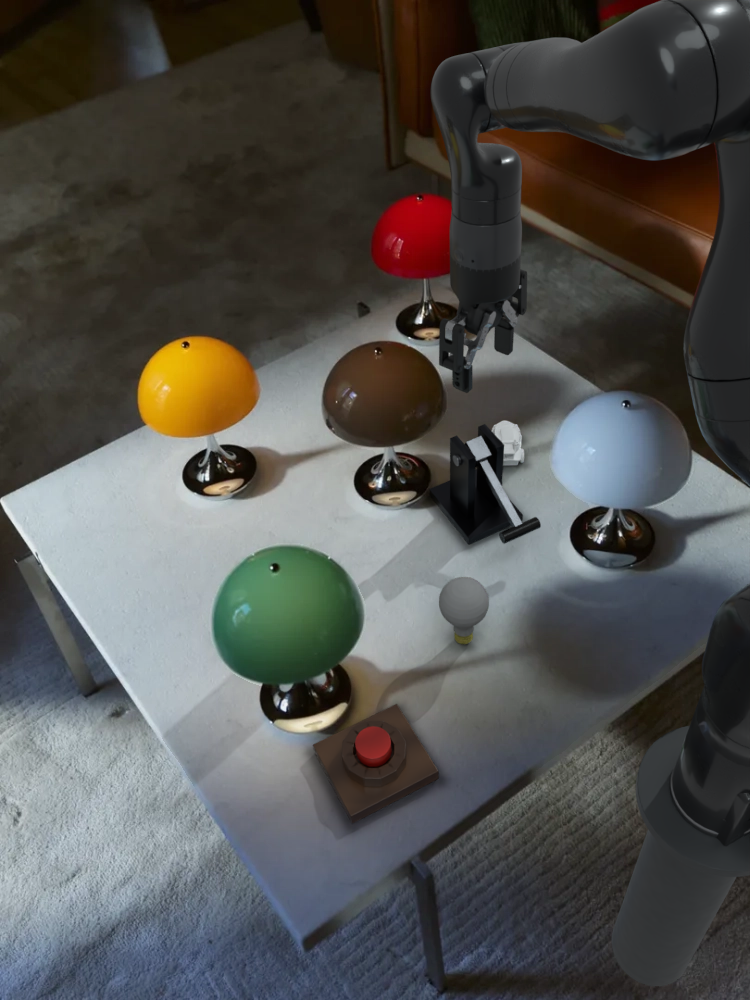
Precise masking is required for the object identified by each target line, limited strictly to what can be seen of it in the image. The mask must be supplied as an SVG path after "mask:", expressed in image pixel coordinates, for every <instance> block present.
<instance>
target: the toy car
mask: <svg viewBox="0 0 750 1000" xmlns="http://www.w3.org/2000/svg"><path fill="white" fill-rule="evenodd" d="M491 431H492V432H493V433H494V434H495V435H496V436H497V438H498V439H499V440H500V441H501V442H502V443H503V444H504V459H503V466H518V465H519V463H521V464H522V463H525V449H524V448H521V447H522V441H523V435H522V433H521V429H520V427H519V425H518V424H517V423H514V422H512V421H509V420H501V421H499V422H498V423H496V424H494V425H493V426H492V428H491Z"/></svg>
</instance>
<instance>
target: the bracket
mask: <svg viewBox="0 0 750 1000" xmlns="http://www.w3.org/2000/svg"><path fill="white" fill-rule="evenodd" d="M479 436H482V438H483V440H484V441H485V443H486V445H487V447H488V448H489V450H490V452H491V454H492V455H491V457H490V459H489V460H488V462H489V464H490V466H491V467H492V469H493V471H494V473H495V475H496V476H497V478H498V480H499V482H500V484H501V485H502V486H503V477H504V476H503V475H504V474H503V473H504V465H503V459H504V444H503V443H502V442H501V441H500V440H499V439H498V438H497V436H496V435H495V434H494V433H493V432H492V429H491V428H490V427H488V426H487V424H486V423H483V424H481V425H479V426H477V437H479ZM475 462H476V457H475V456H474V454H473V453H472V452H471V451H470V450H469V449H468V448H467V446H466V445H465V443H464V442H463V441H462V439H461V438H460V437H459V436H458V435H454V436H452V437H450V438H449V480H447V481H445V482H443V483H441V484H438V485H435V486H433V487H430V488H429V489H428V493H429V497H430V498H431V499H432V500H433V502H434V503H435V504H436V505H437V507H438V508H439V509H440V510H441V512H442V513H443V515H445V516H446V518H447V520H448V521H449V522H450V523H451V524H452V526H453V527H454V528H455V529H456V531H457V532H458V534H459V535H460V536H461V537H462V538H463V540H464V541H465V542H466V544H468V545H472V544H474V543H476V542H478V541H481V540H482V539H485V538H487V537H489V536H492V535H494V534H496V533H499V532H502V531H504V530H506V529H508V528H511V525H510V523H509V521H508V519H507V518H506V516H505V514H504V512H503V510H502V509H501V507H500V505H499V503H498V501H497V500H496V498H495V496H494V494H493V492H492V490H491V489H490V487H489V485H488V483H487V481H486V480H485V478H484V476H483V474H482V472H481V471H480V469H479V467H478V466H477V467H475ZM509 500H510V502H511V503H512V505H513V507H514V509H515V511H516V512H517V514H518V516H519V518H520V519H521V521H522V522H523V520H524V519H523V518H524V515H523V513H522V512H521V511H520V509H519V508H518V507H517V506H516V505H515V504H514V503H513V501H512V500H511V499H510V498H509Z"/></svg>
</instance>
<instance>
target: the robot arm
mask: <svg viewBox="0 0 750 1000" xmlns="http://www.w3.org/2000/svg"><path fill="white" fill-rule="evenodd" d="M430 99H431V100H430V102H431V105H432V110H433V113H434V116H435V119H436V122H437V124H438V127H439V130H440V134H441V138H442V141H443V144H444V148H445V152H446V157H447V161H448V166H449V172H450V190H451V191H450V195H451V197H450V199H451V214H450V222H449V284H450V285H449V286H450V288H451V290H452V292H453V293H454V295H455V296H456V298H457V300H458V306H457V311H456V315H455V317H453V318H452V319H451V320H450V319H447V318H445V317H444V318H441V320H440V322H439V335H438V337H439V341H438V342H439V343H438V365H439V366H440V367H442V368H445V369H447V370H449V371H451V376H452V377H451V378H452V379H451V380H452V381H451V383H452V384H451V385H452V386H453V388H455V389H456V390H458V391H460V392H463V393H465V394H468V393H469V392H471V391H472V389H473V362H474V359H475V356H476V354H477V352H478V351H480V350H482V349H483V347H484V344H485V341H486V338H487V336H488V334H489V332H490V331H492V329H493V328H494V333H493V334H494V336H493V337H494V340H493V341H494V342H493V347H494V348H493V349H494V350H495V351H496V352H497V353H500V354H502V355H505V356H509V355H511V353H513V351H514V337H515V336H514V335H515V334H514V333H515V328H516V327H517V325H518V323H519V316H524V315H525V314H526V313H527V308H528V271H527V270H524V269H521V262H522V261H521V260H522V241H523V240H522V239H523V224H522V223H523V222H522V212H521V211H522V210H521V207H522V206H521V205H522V184H523V183H522V180H523V165H522V159H521V156H520V155H519V153H518V152H517V151H516V150H515V149H514V148H512V147H510V146H508V145H505V144H502V143H501V144H500V143H493V142H491V143H490V142H478V137H479V135H480V134H485V133H488V132H493V131H497V130H502V129H505V128H507V129H510V130H514V131H516V132H526V133H564V134H569V135H571V136H575V137H577V138H580V139H582V140H585V141H588V142H590V143H593V144H596V145H599V146H601V147H603V148H605V149H608V150H611V151H613V152H615V153H617V154H620V155H623V156H624V155H625V156H628V157H631V158H635V159H639V160H645V161H662V160H669V159H670V160H671V159H674V158H677V157H681V156H683V155H686V154H689V153H691V152H693V151H697V150H698V149H701V148H704V147H707V146H709V145H714V150H715V158H716V167H717V168H716V171H717V182H718V184H717V185H718V186H717V187H718V208H717V216H716V217H717V218H716V223H715V228H714V235H713V237H712V241H711V244H710V248H709V251H708V254H707V257H706V259H705V263H704V266H703V269H702V272H701V274H700V278H699V280H698V283H697V286H696V290H695V292H694V296H693V298H692V302H691V305H690V309H689V313H688V316H687V321H686V325H685V329H684V336H683V344H682V349H683V360H684V365H685V370H686V376H687V380H688V381H687V382H688V385H689V391H690V396H691V400H692V405H693V409H694V413H695V418H696V421H697V425H698V427H699V430H700V433H701V435H702V436H703V438H704V440H705V442H706V444H707V445H708V446H709V448H710V449H711V450H712V452H714V454H715V455H716V456H717V457H718V458H719V459H720V460H721V461H722V462H723V463H724V465H726V466H727V467H728V468H729V469H730V470H731V471H732V472H733V473H734V474H735V475H736V476H738V477H739V478H740V479H741V480H742V481H743V482H744V483H745V484H746V485H747V486H749V487H750V0H658V1H656V2H654V3H650V4H648V5H645V6H643V7H640V8H639V9H637V10H635V11H634V12H632V13H631V14H629V15H627V16H626V17H624V18H623V19H621V20H619V21H617V22H616V23H614V24H612V25H611V26H609V27H607V28H606V29H604V30H602V31H601V32H599V33H598V34H595V35H594V36H592V37H590V38H588V39H587V40H585V41H582V42H581V41H579V40H576V39H573V38H569V37H548V38H541V39H536V40H535V39H534V40H530V41H522V42H515V43H509V44H503V45H500V46H499V45H498V46H496V47H490V48H485V49H482V50H481V49H480V50H476V51H471V52H468V53H462V54H458V55H454V56H451V57H448V58H445V60H442V62H441V63H440V64H439V65H438V67H437V68H436V70H435V71H434V73H433V77H432V80H431V84H430ZM513 298H516V300H517V302H516V301H514V300H513ZM465 331H466V332H467V333H469V334H471V335H473V336H476V337H475V338H474V339H471V338H468V337H466V336H467V333H466V332H465ZM465 347H467V351H466V354H464V353H465V352H464V351H465V350H464V349H465ZM704 649H705V650H704V653H703V657H702V662H701V675H702V682H703V687H702V691H701V693H700V696H699V699H698V701H697V704H696V707H695V709H694V713H693V715H692V718H691V722H690V724H689V725H688V726H689V729H688V732H687V735H686V738H685V740H684V743H683V746H682V749H681V751H680V754H679V757H678V760H677V763H676V764H675V766H674V768H673V771H672V774H671V777H670V785H669V787H670V795H671V799H672V801H673V804H674V806H675V808H676V809H677V811H678V812H679V814H680V815H681V816H682V818H683V819H684V820H685V821H686V822H687V823H689V824H690V825H691V826H692V827H694V828H695V829H697V830H698V831H700V832H702V833H704V834H706V835H709V836H712V837H716V838H717V839H718V840H719V841H720V842H721V843H722V844H723V845H724V846H728V845H730V844H732V843H733V842H735V841H737V840H738V839H740V838H742V837H743V836H746V835H748V834H750V582H749V583H747V584H745V585H744V586H743V587H741V588H740V589H738V590H736V591H735V592H734V593H732V594H730V595H729V596H728V597H727V598H725V599H724V601H723V602H722V603H721V604H720V605H719V607H718V609H717V610H716V613H715V615H714V617H713V620H712V623H711V626H710V628H709V633H708V638H707V641H706V645H705V648H704Z"/></svg>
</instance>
